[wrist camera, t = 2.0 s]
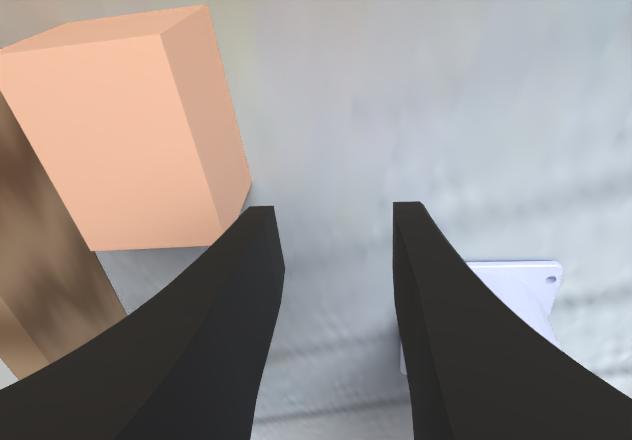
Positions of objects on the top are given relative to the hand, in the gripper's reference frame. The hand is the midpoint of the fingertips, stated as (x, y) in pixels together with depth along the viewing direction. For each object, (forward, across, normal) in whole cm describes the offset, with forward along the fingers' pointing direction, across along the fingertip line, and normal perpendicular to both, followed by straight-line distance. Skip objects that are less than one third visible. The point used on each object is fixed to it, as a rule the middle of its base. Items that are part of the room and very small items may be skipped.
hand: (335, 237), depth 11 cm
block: (+10, +8, 0) cm, 12 cm away
